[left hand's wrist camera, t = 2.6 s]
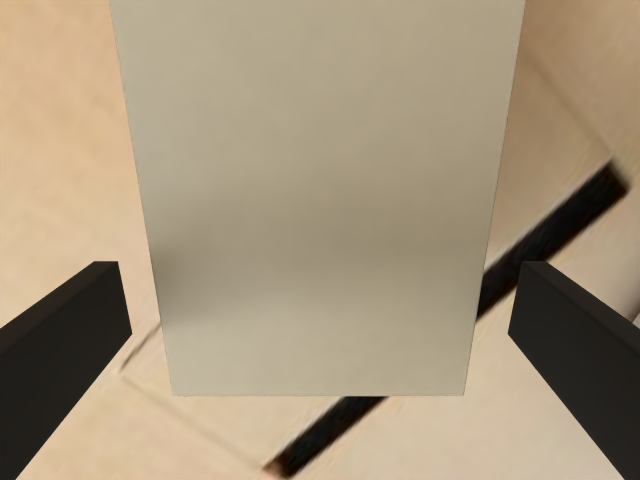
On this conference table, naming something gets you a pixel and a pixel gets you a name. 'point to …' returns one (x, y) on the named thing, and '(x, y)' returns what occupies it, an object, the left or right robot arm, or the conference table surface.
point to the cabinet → (317, 186)
